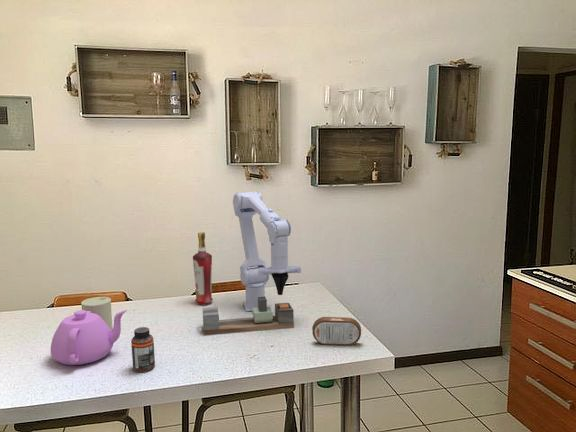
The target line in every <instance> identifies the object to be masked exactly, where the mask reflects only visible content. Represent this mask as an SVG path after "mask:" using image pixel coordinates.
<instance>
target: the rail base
mask: <svg viewBox="0 0 576 432" xmlns="http://www.w3.org/2000/svg"><path fill="white" fill-rule="evenodd" d="M280 304H288V306H289V308H286V309H279V305H280ZM294 315H295V314H294V308H293V307H292V305H291V303H289V302H279V303H278V302H276V303H274V315H273V319H272V322H260V323H254V318H253V316H252V317H241V318H239V317H238V318H229V319H219V317H220V316H219V310H218V306H206V307H202V326H203V327H202V328H203V329H202V330H203V336H210V335H211V336H212V335H222V334H233V333H246V332H256V331H257V332H259V331H267V330H268V331H269V330H279V329H291V328H292V329H293V328H295V322H294V321H295V320H294Z"/></svg>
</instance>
